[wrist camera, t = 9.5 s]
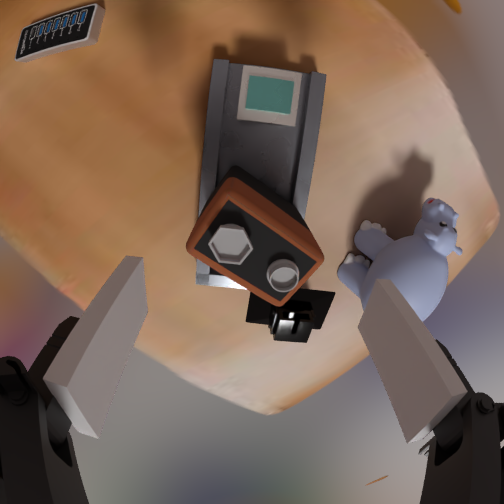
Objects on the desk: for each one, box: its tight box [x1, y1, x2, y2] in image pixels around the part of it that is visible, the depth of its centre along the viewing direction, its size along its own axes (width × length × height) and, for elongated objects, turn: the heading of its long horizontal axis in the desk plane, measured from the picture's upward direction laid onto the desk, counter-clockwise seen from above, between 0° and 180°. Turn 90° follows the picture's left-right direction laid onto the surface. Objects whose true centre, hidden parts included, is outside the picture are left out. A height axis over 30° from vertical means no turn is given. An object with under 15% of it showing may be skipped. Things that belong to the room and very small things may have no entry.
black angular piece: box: [246, 288, 335, 343], centre depth 30 cm, size 12×7×5 cm, turn 80°
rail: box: [196, 59, 326, 289], centre depth 22 cm, size 20×9×6 cm, turn 173°
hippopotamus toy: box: [338, 198, 462, 322], centre depth 24 cm, size 11×15×10 cm
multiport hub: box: [15, 4, 105, 62], centre depth 16 cm, size 4×11×2 cm, turn 82°
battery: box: [186, 165, 324, 306], centre depth 19 cm, size 4×7×10 cm, turn 53°
